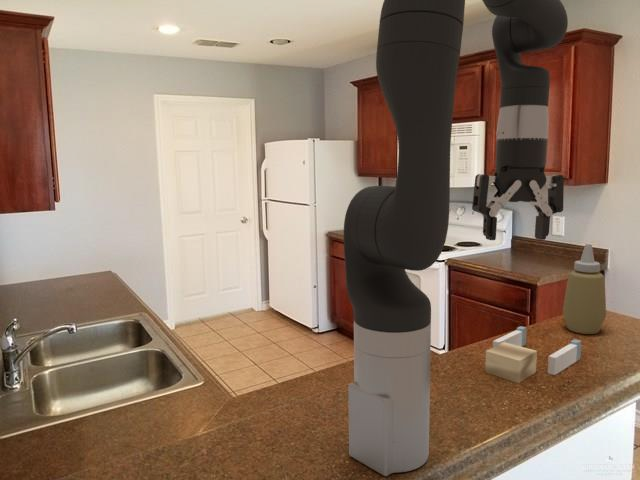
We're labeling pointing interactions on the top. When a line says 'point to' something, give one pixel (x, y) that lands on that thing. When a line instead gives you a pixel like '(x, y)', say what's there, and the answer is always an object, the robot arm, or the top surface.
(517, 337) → the corridor
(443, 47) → the robot arm
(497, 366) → the maple block
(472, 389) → the top surface
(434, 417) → the top surface
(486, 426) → the top surface
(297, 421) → the top surface
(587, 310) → the squeeze bottle
